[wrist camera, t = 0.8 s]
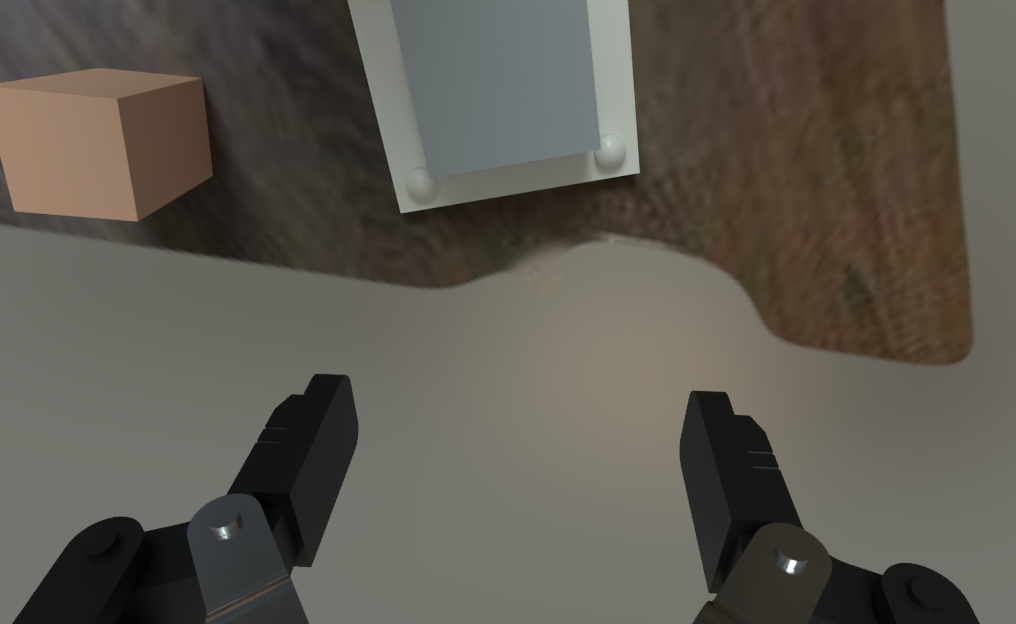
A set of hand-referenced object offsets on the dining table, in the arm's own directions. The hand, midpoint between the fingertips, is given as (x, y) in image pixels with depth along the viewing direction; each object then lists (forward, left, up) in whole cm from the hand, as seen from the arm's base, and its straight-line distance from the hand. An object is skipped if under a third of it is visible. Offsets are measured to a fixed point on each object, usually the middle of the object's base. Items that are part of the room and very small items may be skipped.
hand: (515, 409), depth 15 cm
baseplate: (-6, +1, -22) cm, 22 cm away
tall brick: (-6, -17, -22) cm, 28 cm away
